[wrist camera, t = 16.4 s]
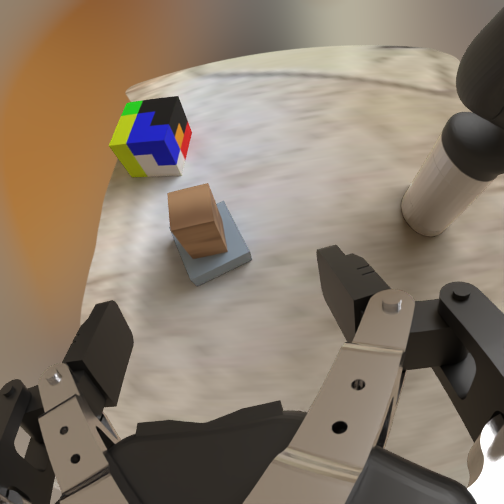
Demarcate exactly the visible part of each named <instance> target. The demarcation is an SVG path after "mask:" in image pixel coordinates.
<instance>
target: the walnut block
mask: <svg viewBox="0 0 504 504" xmlns="http://www.w3.org/2000/svg"><path fill="white" fill-rule="evenodd" d="M167 194H168V207H169V219H170V230H171V232H172V233H173V235H174V236H175V237H176V238H177V240H178V241H179V242H180V243H181V245H182V246H183V247H184V249H185V250H186V251H187V252H188V254H189V255H190V256H191V257H192V259H197V258H201V257H206V256H211V255H215V254H220V253H225V252H228V250H227V244H226V238H225V233H224V227H223V221H222V218H221V215H220V213H219V210H218V208H217V205H216V202H215V200H214V197H213V195H212V192H211V189H210V187H209V184H208V183H207V184H203V185H198V186H194V187H190V188H186V189H182V190H178V191H174V192H170V193H167Z"/></svg>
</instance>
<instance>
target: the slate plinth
mask: <svg viewBox="0 0 504 504" xmlns="http://www.w3.org/2000/svg"><path fill="white" fill-rule="evenodd" d="M216 205H217V208H218V210H219V213H220V215H221V218H222V221H223V227H224V233H225V238H226V244H227V250H228V252H225V253H220V254H215V255H211V256H206V257H201V258H197V259H192V257H191V256H190V255H189V254H188V252H187V251H186V250H185V249H184V247H183V246H182V245H181V243H180V242H179V241H178V240H177V238H176V237H175V236H174V235H173V233H172V232H171V233H172V236H173V238H174V241H175V243H176V246H177V248H178V251H179V253H180V256H181V258H182V261H183V263H184V265H185V268H186V270H187V273H188V275H189V277H190V280H191V281H192V282H193V283H194V284H195V285H196V286H199V285H201V284H203V283H205V282H207V281H209V280H211V279H214V278H216V277H218V276H220V275H222V274H224V273H226V272H228V271H230V270H232V269H234V268H236V267H238V266H240V265H242V264H244V263H246V262H248V261H251V260H252V258H251V254H250V251H249V249H248V247H247V245H246V243H245V241H244V239H243V237H242V236H241V234H240V232H239V230H238V228H237V226H236V224H235V222H234V220H233V218H232V216H231V214H230V212H229V210H228V208H227V206H226V204H225V203H224V201H222V202H220V203H218V204H216ZM169 228H170V227H169ZM170 231H171V230H170Z"/></svg>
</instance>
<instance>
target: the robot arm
mask: <svg viewBox="0 0 504 504" xmlns="http://www.w3.org/2000/svg"><path fill="white" fill-rule="evenodd" d="M456 88H457V93H458V96H459V98H460V100H461V101H462V103H463V104H464V105H465V106H466V107H467V108H468V109H469V110H471V111H472V112H473V113H471V112H460V113H457V114H455V115H453V116H452V117H451V118H450V119H449V120H448V122H447V123H446V125H445V127H444V129H443V131H442V132H441V134H440V136H439V138H438V139H437V141H436V143H435V145H434V147H433V148H432V150H431V152H430V154H429V155H428V157H427V158H426V160H425V162H424V163H423V165H422V167H421V168H420V170H419V172H418V173H417V175H416V177H415V178H414V180H413V181H412V183H411V185H410V186H409V188H408V190H407V191H406V193H405V195H404V196H403V199H402V203H401V208H402V213H403V216H404V218H405V220H406V222H407V223H408V224H409V226H410V227H411V228H412V229H414V230H415V231H416V232H418V233H420V234H422V235H425V236H436V235H439V234H440V233H442V232H443V231H444V230H445V229H446V228H447V227H448V226H449V225H450V224H451V223H452V222H454V221H455V220H456V219H457V218H458V217H459V216H460V215H461V214H462V213H463V212H464V211H465V210H466V209H467V208H468V207H469V206H470V205H471V204H472V203H473V201H474V200H475V199H476V198H477V197H478V196H479V195H480V194H481V193H482V192H483V191H484V190H485V189H486V188H487V187H488V186H489V185H490V183H491V182H492V181H493V180H494V179H495V178H496V177H497V176H498V175H499V174H503V173H504V7H503V8H502V9H501V10H500V11H499V12H498V14H497V15H496V16H495V17H494V18H493V19H492V20H491V21H490V22H489V23H488V24H487V25H486V26H485V27H484V28H483V30H482V31H481V32H480V33H479V34H478V35H477V36H476V37H475V39H474V40H473V41H472V43H471V44H470V45H469V47H468V48H467V50H466V52H465V54H464V55H463V57H462V60H461V62H460V65H459V68H458V71H457V77H456ZM317 261H318V268H319V274H320V281H321V288H322V292H323V296H324V298H325V301H326V303H327V305H328V306H329V308H330V310H331V312H332V314H333V316H334V318H335V319H336V321H337V323H338V325H339V327H340V329H341V331H342V333H343V334H344V336H345V338H346V340H347V342H345V343H344V344H343V345H342V347H341V349H340V351H339V353H338V355H337V357H336V359H335V361H334V363H333V365H332V367H331V369H330V371H329V373H328V375H327V377H326V379H325V381H324V383H323V385H322V387H321V389H320V391H319V393H318V395H317V396H316V398H315V400H314V402H313V404H312V406H311V408H310V409H309V411H308V412H302V411H283V408H282V405H281V401H280V400H279V401H275V402H271V403H266V404H262V405H257V406H253V407H248V408H243V409H240V410H238V411H235V412H233V413H230V414H228V415H225V416H223V417H220V418H218V419H215V420H212V421H210V422H206V423H194V422H183V421H174V420H165V421H155V422H143V423H138V424H137V429H136V434H133V435H131V436H128V437H126V438H124V439H122V440H121V439H120V437H119V436H118V434H117V432H116V431H115V429H114V427H113V426H112V424H111V422H110V421H109V419H108V417H107V416H106V415H105V413H104V412H103V409H104V407H114V406H117V402H118V398H119V394H120V391H121V387H122V383H123V379H124V376H125V372H126V369H127V365H128V362H129V358H130V355H131V352H132V348H133V343H134V341H133V335H132V332H131V330H130V328H129V326H128V324H127V322H126V321H125V319H124V317H123V315H122V313H121V311H120V309H119V307H118V305H117V304H116V302H115V301H107V302H103V303H99V304H96V305H95V307H94V309H93V310H92V312H91V314H90V316H89V318H88V319H87V320H86V321H85V322H84V323H83V324H82V325H81V327H80V328H79V331H78V332H77V334H76V336H75V338H74V340H73V343H72V344H71V346H70V348H69V350H68V352H67V354H66V356H65V358H64V360H63V362H62V363H58V364H54V365H52V366H51V367H49V368H47V369H46V370H45V371H44V372H43V373H42V375H41V376H40V378H39V381H38V385H36V386H34V387H31V388H28V389H27V388H26V386H25V385H24V384H23V383H22V382H21V380H18V379H15V380H12V381H10V382H8V383H7V384H5V385H4V386H3V388H2V389H1V390H0V504H50V499H51V493H52V488H53V483H54V479H55V476H56V479H57V481H58V484H59V487H60V489H61V492H62V496H61V497H60V499H59V500H58V501H57V502H56V503H55V504H504V314H503V313H502V312H501V311H500V310H499V309H498V308H497V307H496V306H495V305H494V304H493V303H492V302H491V301H490V300H489V299H488V298H487V297H486V296H485V295H484V294H483V293H482V292H481V291H480V290H479V289H478V288H476V287H475V286H473V285H472V284H469V283H465V282H452V283H449V284H446V285H445V286H443V287H442V289H441V290H440V295H439V299H435V300H426V301H414V298H413V297H412V296H411V295H410V294H409V293H407V292H405V291H402V290H397V289H391V288H390V287H389V286H388V285H387V284H386V283H385V282H384V280H383V279H382V278H381V277H380V276H379V275H378V274H377V273H376V272H375V270H374V269H373V268H372V267H371V266H369V264H368V263H367V262H366V261H365V260H364V259H363V258H362V257H359V256H357V255H355V254H349V255H345V254H344V253H343V252H342V251H341V249H340V248H339V247H338V246H337V245H332V246H329V247H325V248H321V249H317ZM428 367H432V369H433V371H434V372H435V374H436V376H437V377H438V379H439V381H440V382H441V384H442V386H443V387H444V389H445V391H446V392H447V394H448V396H449V398H450V399H451V401H452V403H453V405H454V406H455V408H456V410H457V412H458V413H459V415H460V417H461V419H462V421H463V423H464V424H465V426H466V428H467V430H468V432H469V434H470V436H471V438H472V439H473V441H474V444H473V446H472V447H471V449H470V451H469V453H468V457H467V466H468V469H469V474H470V479H469V484H468V487H467V488H466V487H465V486H463V485H462V484H461V483H459V482H457V481H455V480H453V479H451V478H448V477H446V476H443V475H441V474H438V473H436V472H434V471H431V470H429V469H427V468H424V467H422V466H420V465H417V464H415V463H413V462H411V461H409V460H406V459H404V458H402V457H400V456H398V455H396V454H394V453H392V452H390V451H388V450H386V449H384V448H385V445H386V442H387V440H388V437H389V433H390V430H391V427H392V423H393V419H394V416H395V412H396V409H397V406H398V402H399V399H400V395H401V392H402V388H403V384H404V381H405V377H406V373H407V370H412V369H420V368H428ZM19 426H21V427H22V428H23V429H24V430H25V431H26V432H27V433H28V434H29V435H30V436H31V439H30V442H29V445H28V449H27V452H26V455H25V458H23V457H21V456H20V455H19V454H18V453H17V451H16V449H15V446H14V440H15V437H16V434H17V432H18V429H19Z"/></svg>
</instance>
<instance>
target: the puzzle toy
mask: <svg viewBox="0 0 504 504" xmlns="http://www.w3.org/2000/svg"><path fill="white" fill-rule="evenodd" d="M191 134H192V132H191V129H190V126H189V124H188V121H187V118H186V116H185V113H184V110H183V108H182V105H181V102H180V100H179V97H178V96H175V97H166V98H158V99H150V100H143V101H136V102H130V103H127V104H126V106H125V108H124V111H123V113H122V115H121V118H120V120H119V122H118V125H117V127H116V129H115V132H114V134H113V137H112V139H111V142H110V144H109V147H110V148H111V149H112V151H113V152H114V154H115V155H116V156H117V158H118V159H119V160H120V162H121V163H122V164H123V166H124V167H125V169H126V170H127V171H128V173H129V174H130V175H131V177H151V176H180V175H182V172H183V168H184V164H185V159H186V155H187V151H188V147H189V142H190V138H191Z"/></svg>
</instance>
